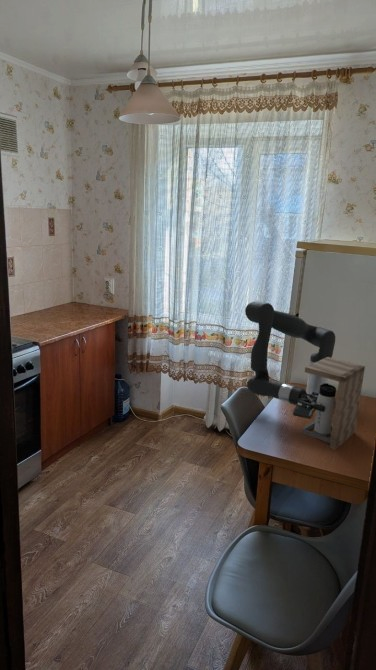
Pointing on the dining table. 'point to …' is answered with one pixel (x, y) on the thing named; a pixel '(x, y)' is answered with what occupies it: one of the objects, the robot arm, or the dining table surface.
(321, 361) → the overhang shelf
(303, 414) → the phone
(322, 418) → the travel mug
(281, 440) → the dining table surface
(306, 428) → the seat frame
